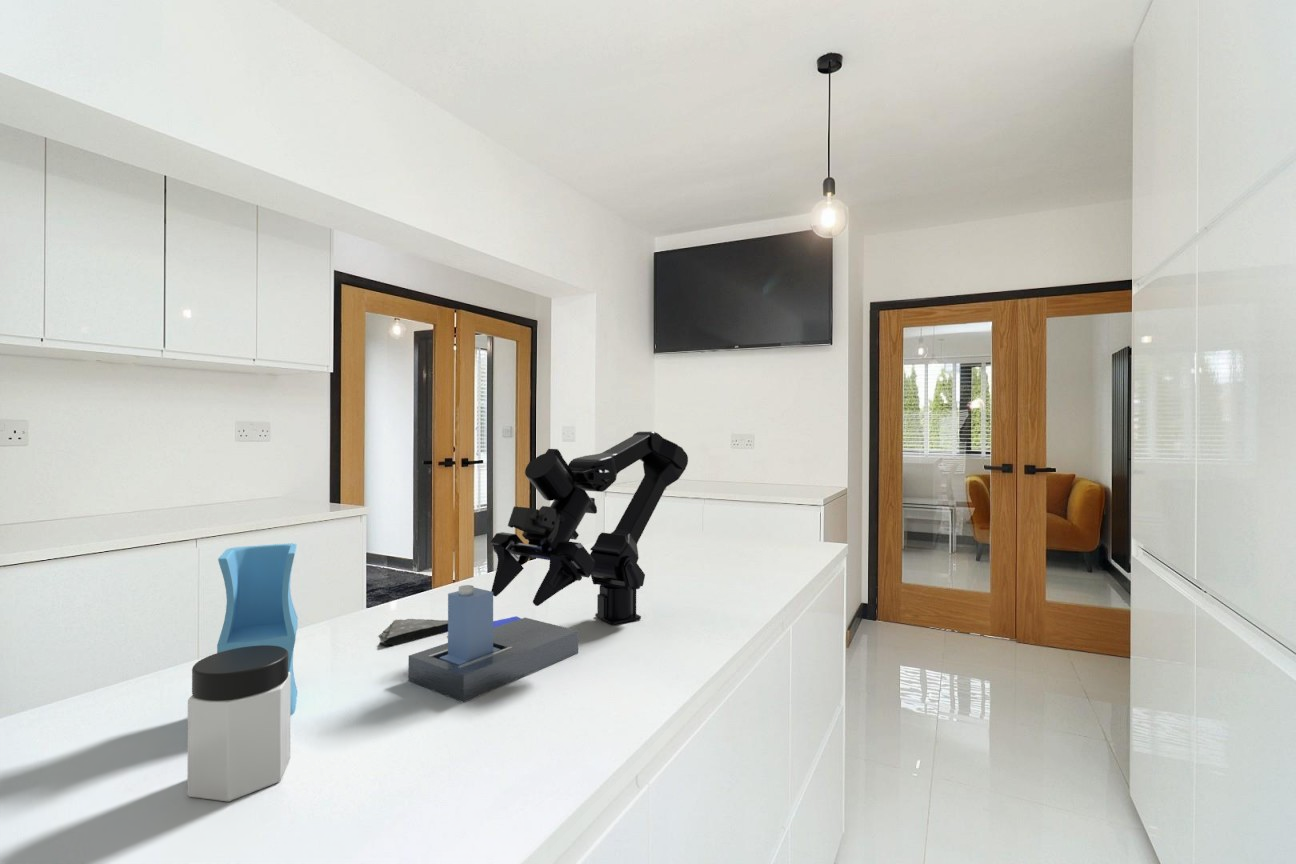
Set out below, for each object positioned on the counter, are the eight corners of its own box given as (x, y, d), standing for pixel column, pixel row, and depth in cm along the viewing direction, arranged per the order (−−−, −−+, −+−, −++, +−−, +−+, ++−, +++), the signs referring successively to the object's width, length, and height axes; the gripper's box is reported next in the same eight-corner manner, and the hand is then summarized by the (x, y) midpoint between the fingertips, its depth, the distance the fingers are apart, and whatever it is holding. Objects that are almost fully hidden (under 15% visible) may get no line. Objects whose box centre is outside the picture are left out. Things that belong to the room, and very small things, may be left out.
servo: (481, 665, 92) (481, 578, 92) (500, 672, 89) (500, 583, 89) (439, 681, 86) (439, 588, 86) (459, 689, 83) (459, 593, 83)
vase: (216, 730, 72) (217, 558, 72) (226, 703, 79) (227, 547, 79) (294, 715, 76) (295, 552, 76) (297, 691, 83) (297, 542, 83)
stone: (384, 652, 99) (384, 638, 99) (359, 640, 106) (358, 626, 106) (459, 632, 109) (459, 619, 109) (431, 621, 116) (431, 609, 116)
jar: (275, 747, 68) (275, 638, 68) (305, 773, 63) (305, 655, 63) (175, 782, 61) (176, 661, 61) (200, 814, 56) (200, 682, 56)
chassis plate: (524, 638, 104) (525, 616, 104) (578, 652, 97) (578, 630, 97) (408, 680, 86) (408, 654, 86) (463, 702, 79) (463, 674, 79)
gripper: (498, 484, 104) (443, 561, 95) (581, 490, 93) (528, 578, 84) (532, 524, 110) (484, 600, 101) (614, 534, 100) (568, 620, 91)
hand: (513, 599), depth 94 cm, fingers open, 9 cm apart
